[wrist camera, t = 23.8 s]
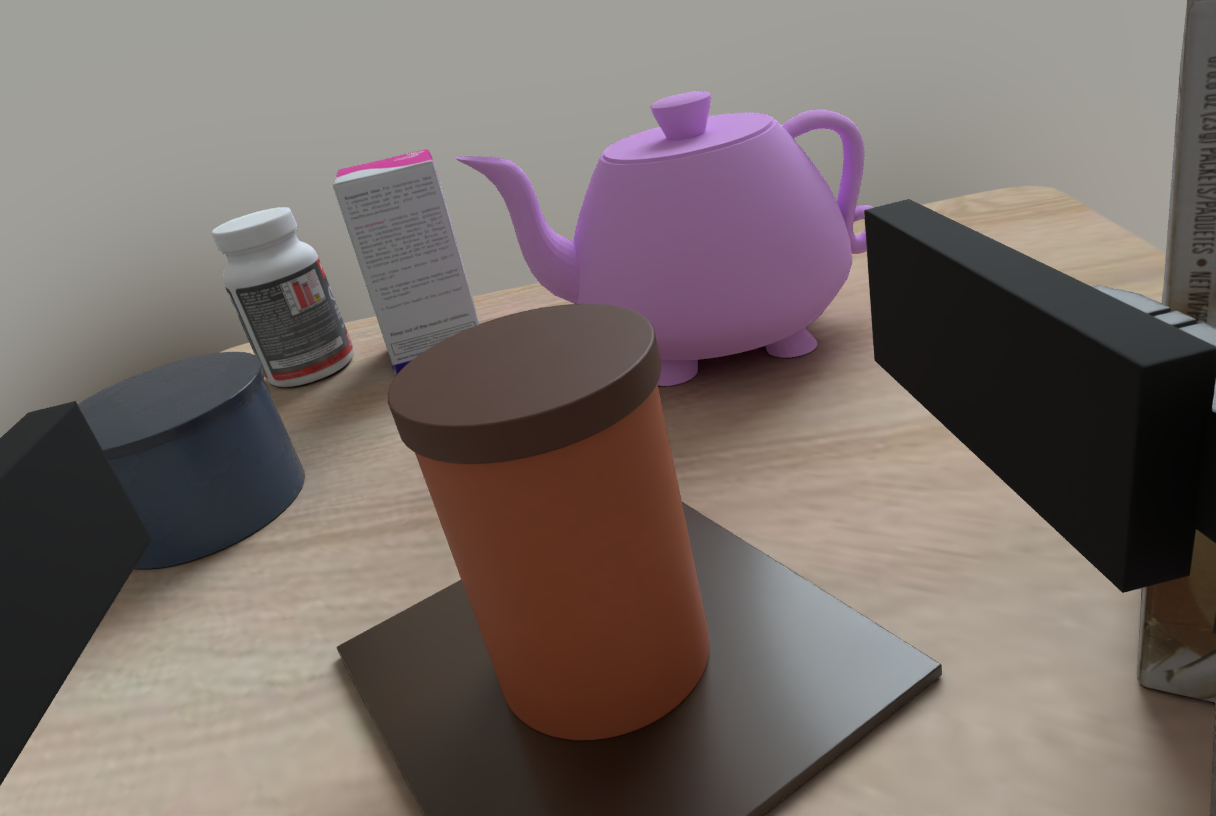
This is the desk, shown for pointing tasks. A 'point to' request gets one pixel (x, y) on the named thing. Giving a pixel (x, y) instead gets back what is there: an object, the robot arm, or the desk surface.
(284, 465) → the tin
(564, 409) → the canister
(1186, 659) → the coffee box
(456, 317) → the supplement box
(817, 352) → the desk surface
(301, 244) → the pill bottle
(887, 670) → the plate
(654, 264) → the teapot
